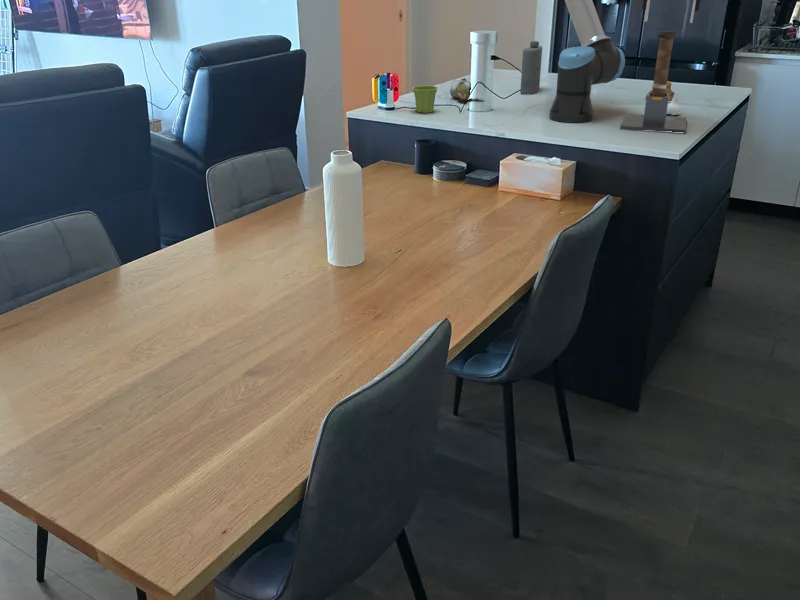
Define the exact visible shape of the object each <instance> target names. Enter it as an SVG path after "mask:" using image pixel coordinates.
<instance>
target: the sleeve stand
mask: <svg viewBox="0 0 800 600" xmlns="http://www.w3.org/2000/svg"><path fill="white" fill-rule="evenodd" d="M669 94H670V93H665V96H652V92H650V91H648V92H647V94H646V95H647V98H646V99H645V107H644V114H641V113H640V114H639V113H625V116H624V117H623V119H622V122H621V124H620V128H619V130H621V129H631V130H630V131H636V130H653V131H654V130H655V131H672V132H685V133H686V127H687V118H688V117H687V116H673V115H667V114H666V113H667V107H668V104H669V103H668V100H669ZM632 129H633V130H632Z"/></svg>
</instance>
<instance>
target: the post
mask: <svg viewBox="0 0 800 600" xmlns="http://www.w3.org/2000/svg"><path fill="white" fill-rule="evenodd" d="M677 36H678V31H675V30H659V31H658V33H657V38H659V42H658V48H657V49H658V50H657V55H656V56H657V57H656V63H655V70H654V77H653V83H652V87H651V89H652V96H665V91H666V87H667V81H668V78H669V70H670V63H671V58H672V57H671V56H672V49H673V43H674V39H675V38H677Z"/></svg>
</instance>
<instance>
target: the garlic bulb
mask: <svg viewBox="0 0 800 600" xmlns="http://www.w3.org/2000/svg"><path fill="white" fill-rule="evenodd" d="M674 93H675V94H674V97H673V99H672V101H671V102H669V103H668V107H667V113H666V115H667V114H674V115H676V114H680V115H681V114H682V107H681V105H680V104H679V103H678V96H679V92H677V91H676V92H674Z"/></svg>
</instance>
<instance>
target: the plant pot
mask: <svg viewBox="0 0 800 600" xmlns="http://www.w3.org/2000/svg"><path fill="white" fill-rule="evenodd" d="M411 89H412V90H413V94H414V98H415V106H416V107H415V108H416V112H417V113H419V114H420V113H422V114H427V113H428V114H430V113H432V112H434V108H435V100H436V95H437V90H438V89H439V87H437V86H434V85H418V86H417V85H416V86H413V87H411Z"/></svg>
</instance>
